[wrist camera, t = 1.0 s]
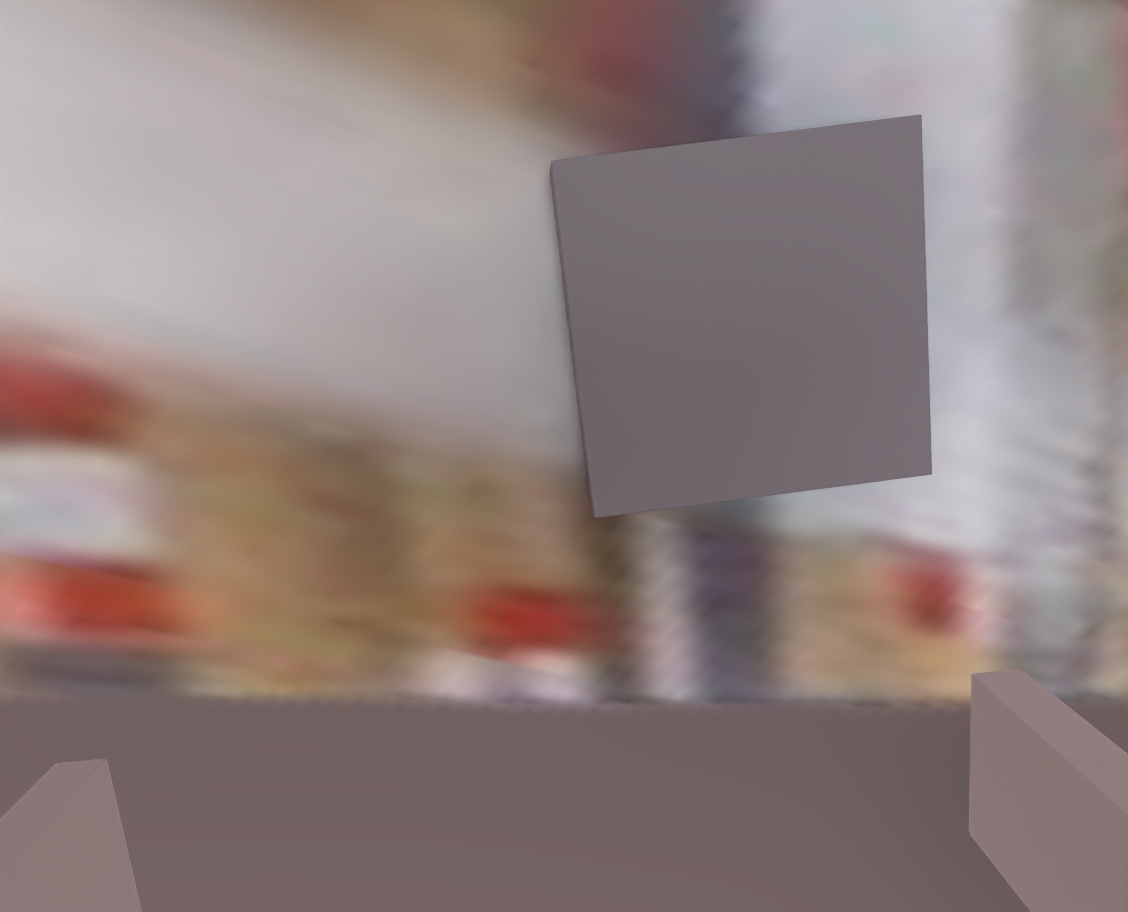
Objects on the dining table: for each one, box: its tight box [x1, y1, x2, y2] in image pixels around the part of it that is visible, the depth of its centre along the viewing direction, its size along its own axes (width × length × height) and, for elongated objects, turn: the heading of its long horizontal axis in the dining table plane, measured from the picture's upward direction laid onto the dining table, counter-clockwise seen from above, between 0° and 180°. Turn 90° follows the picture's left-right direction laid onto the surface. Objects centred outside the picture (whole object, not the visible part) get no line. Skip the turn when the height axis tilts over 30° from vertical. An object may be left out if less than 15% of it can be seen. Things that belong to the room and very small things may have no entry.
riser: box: [550, 115, 932, 518], centre depth 34 cm, size 14×14×4 cm
